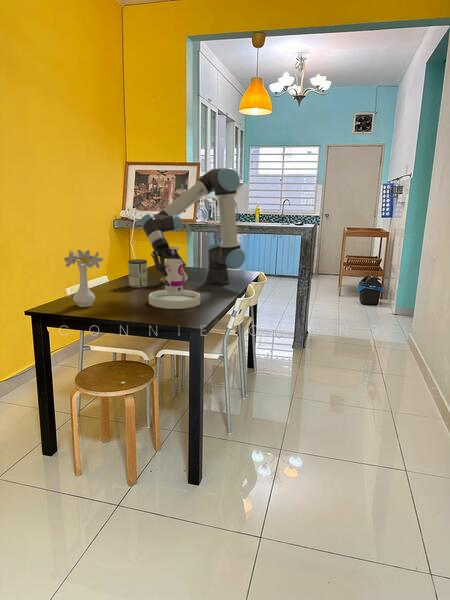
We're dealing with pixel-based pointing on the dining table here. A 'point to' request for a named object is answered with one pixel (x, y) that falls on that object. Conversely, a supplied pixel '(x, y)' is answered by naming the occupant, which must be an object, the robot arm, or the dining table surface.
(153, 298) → the ceramic bowl
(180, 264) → the supplement can
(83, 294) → the flower vase
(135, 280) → the coffee can
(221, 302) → the dining table surface
